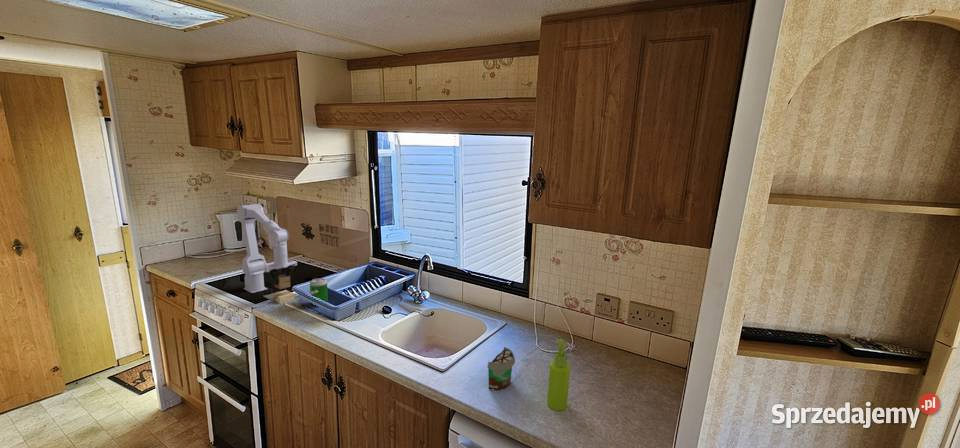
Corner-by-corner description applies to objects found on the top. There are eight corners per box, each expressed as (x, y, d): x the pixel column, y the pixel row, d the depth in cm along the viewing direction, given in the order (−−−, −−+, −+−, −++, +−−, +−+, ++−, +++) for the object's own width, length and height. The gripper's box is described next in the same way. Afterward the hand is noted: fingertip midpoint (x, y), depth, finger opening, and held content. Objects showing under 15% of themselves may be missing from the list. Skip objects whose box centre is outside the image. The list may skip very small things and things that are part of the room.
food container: (503, 397, 125) (505, 368, 123) (486, 391, 128) (487, 362, 126) (519, 378, 135) (521, 351, 133) (503, 372, 138) (504, 346, 136)
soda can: (324, 300, 195) (323, 276, 193) (330, 305, 189) (329, 281, 187) (308, 303, 190) (307, 279, 188) (313, 308, 185) (312, 284, 182)
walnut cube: (274, 286, 191) (274, 276, 190) (285, 284, 194) (284, 274, 194) (280, 289, 188) (279, 279, 187) (290, 286, 192) (290, 276, 191)
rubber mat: (263, 297, 196) (263, 296, 196) (285, 291, 205) (285, 290, 205) (279, 305, 187) (278, 303, 187) (301, 298, 196) (301, 297, 196)
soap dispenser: (563, 396, 126) (568, 337, 122) (569, 410, 119) (574, 349, 116) (544, 396, 126) (549, 337, 122) (549, 410, 119) (554, 348, 115)
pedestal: (272, 299, 192) (272, 293, 191) (286, 295, 197) (286, 290, 197) (280, 303, 188) (279, 297, 187) (294, 299, 193) (294, 293, 193)
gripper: (269, 260, 180) (271, 289, 183) (299, 253, 192) (301, 281, 194) (261, 257, 184) (263, 285, 187) (292, 251, 196) (293, 277, 198)
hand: (282, 283), depth 191 cm, fingers closed on walnut cube, 5 cm apart
